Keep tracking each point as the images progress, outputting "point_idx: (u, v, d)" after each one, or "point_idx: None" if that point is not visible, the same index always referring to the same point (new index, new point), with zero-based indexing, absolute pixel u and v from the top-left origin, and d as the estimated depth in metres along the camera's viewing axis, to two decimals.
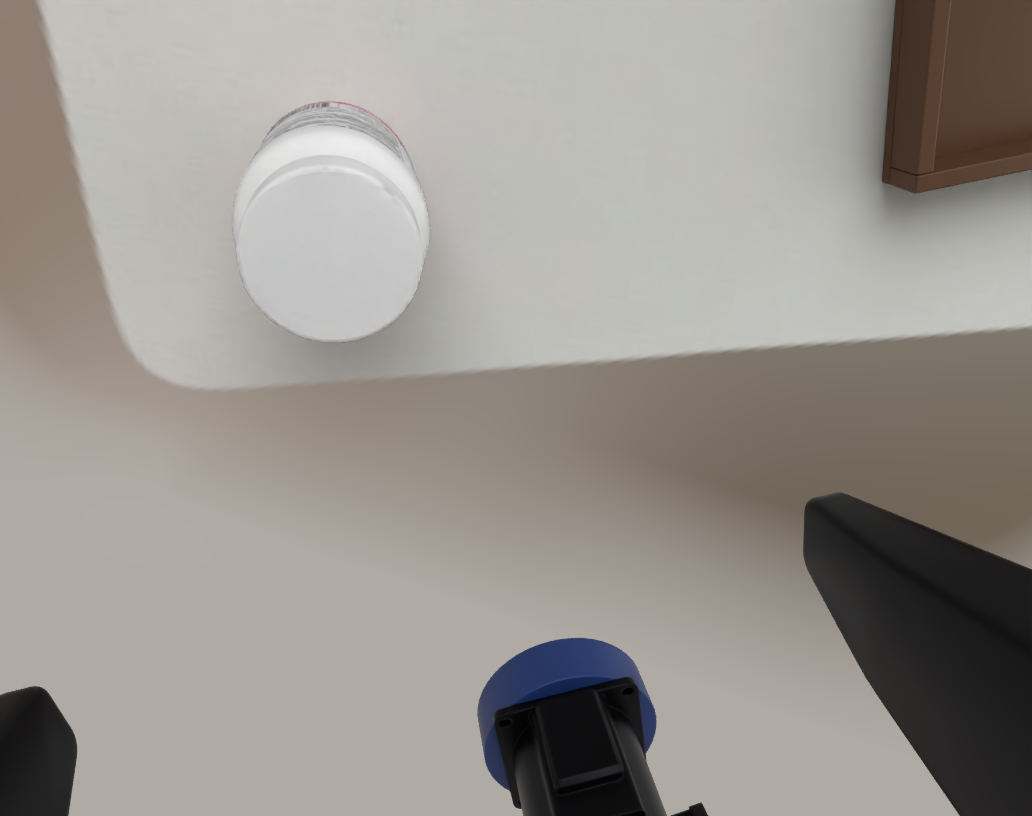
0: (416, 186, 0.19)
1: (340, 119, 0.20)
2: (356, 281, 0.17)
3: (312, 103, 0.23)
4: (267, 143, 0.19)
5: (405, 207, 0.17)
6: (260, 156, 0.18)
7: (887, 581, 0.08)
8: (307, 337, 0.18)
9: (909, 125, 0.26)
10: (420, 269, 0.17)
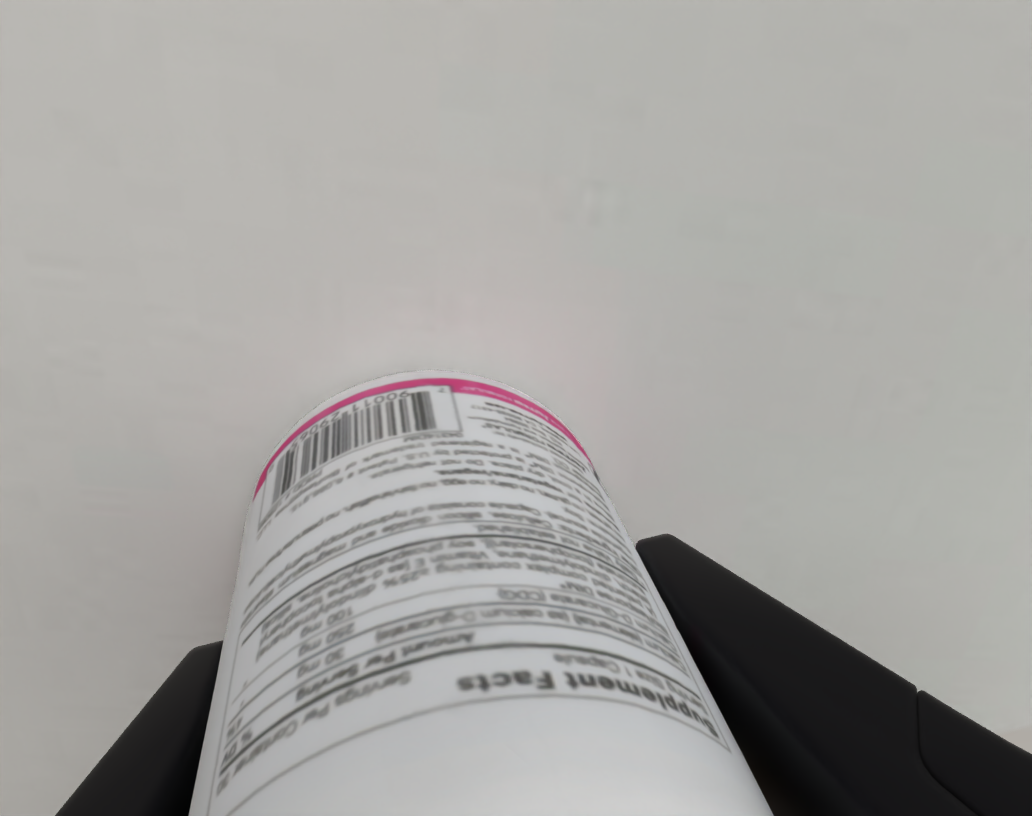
0: None
1: (509, 578, 0.06)
2: None
3: (383, 385, 0.09)
4: (278, 730, 0.05)
5: None
6: None
7: (686, 632, 0.08)
8: None
9: None
10: None
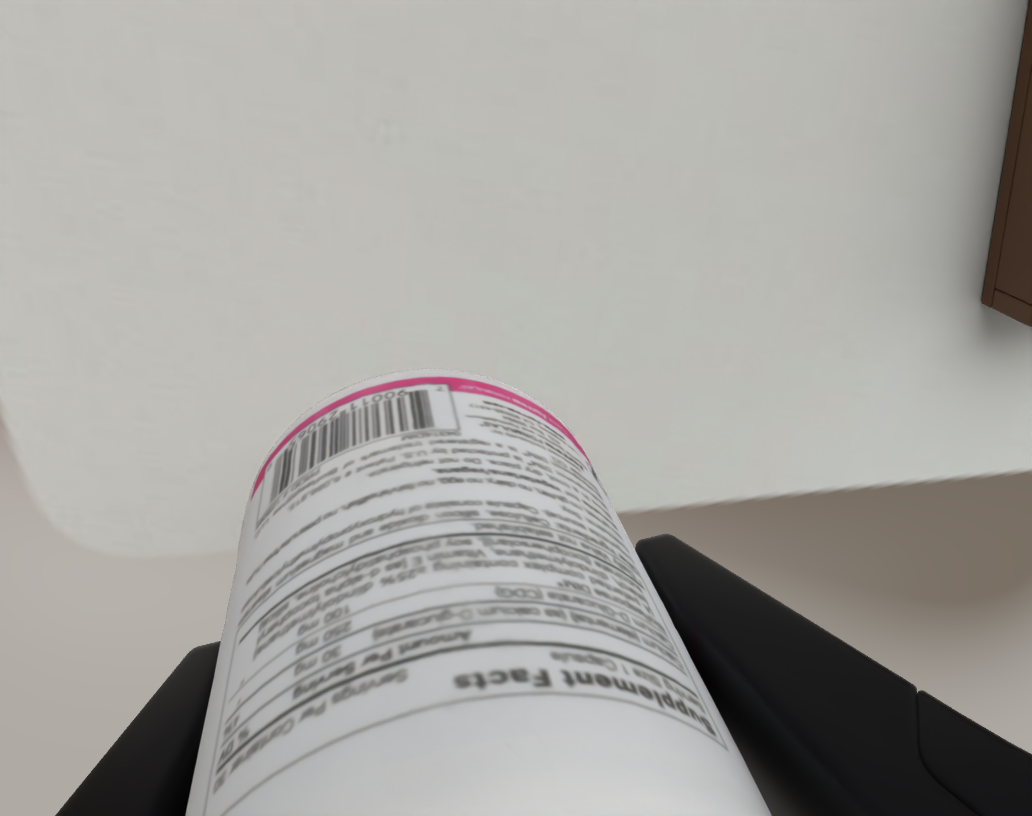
0: None
1: (506, 576, 0.06)
2: None
3: (381, 383, 0.09)
4: (274, 728, 0.05)
5: None
6: None
7: (686, 632, 0.08)
8: None
9: (1026, 244, 0.20)
10: None
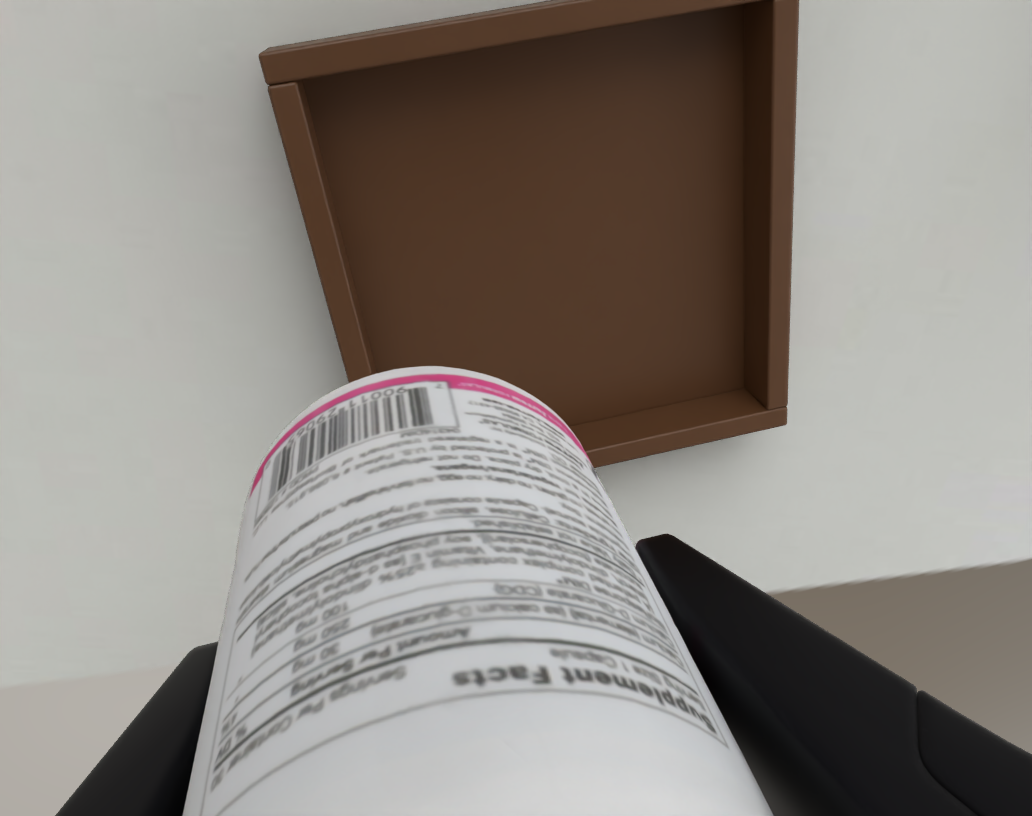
0: None
1: (505, 573, 0.06)
2: None
3: (380, 381, 0.09)
4: (272, 726, 0.05)
5: None
6: None
7: (686, 632, 0.08)
8: None
9: None
10: None
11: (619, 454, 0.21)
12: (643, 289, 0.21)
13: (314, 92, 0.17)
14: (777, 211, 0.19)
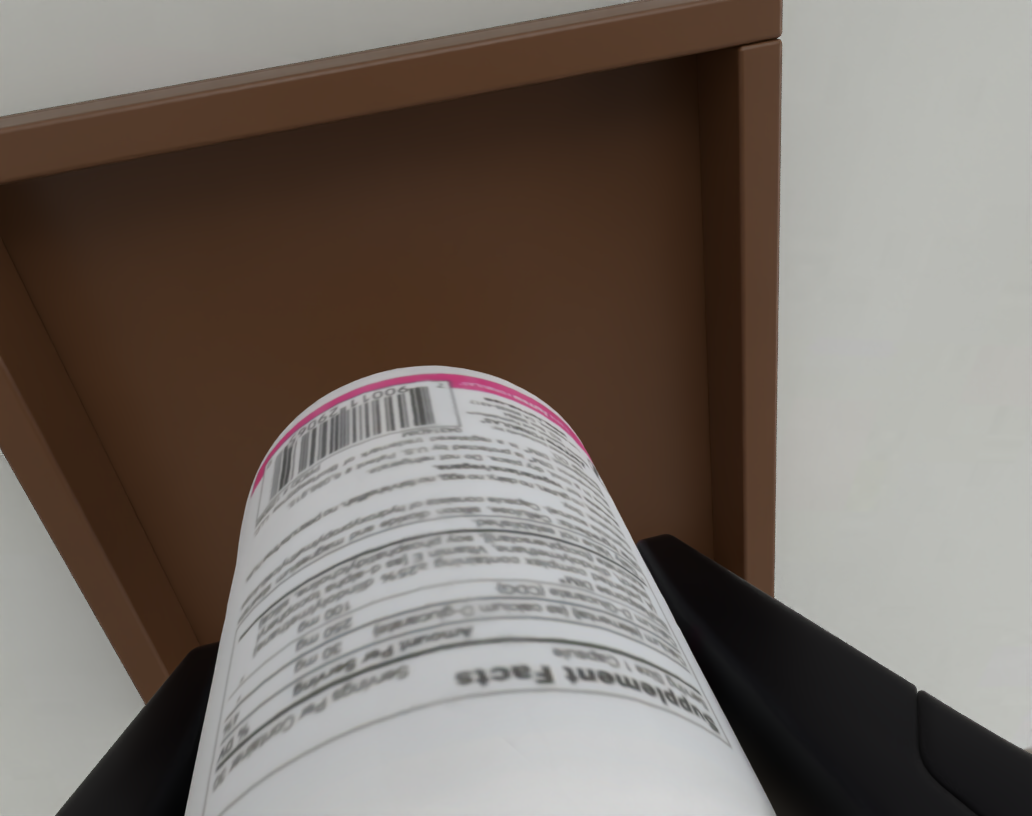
0: None
1: (507, 572, 0.06)
2: None
3: (382, 380, 0.09)
4: (274, 725, 0.05)
5: None
6: None
7: (686, 632, 0.08)
8: None
9: None
10: None
11: None
12: None
13: None
14: (753, 363, 0.12)
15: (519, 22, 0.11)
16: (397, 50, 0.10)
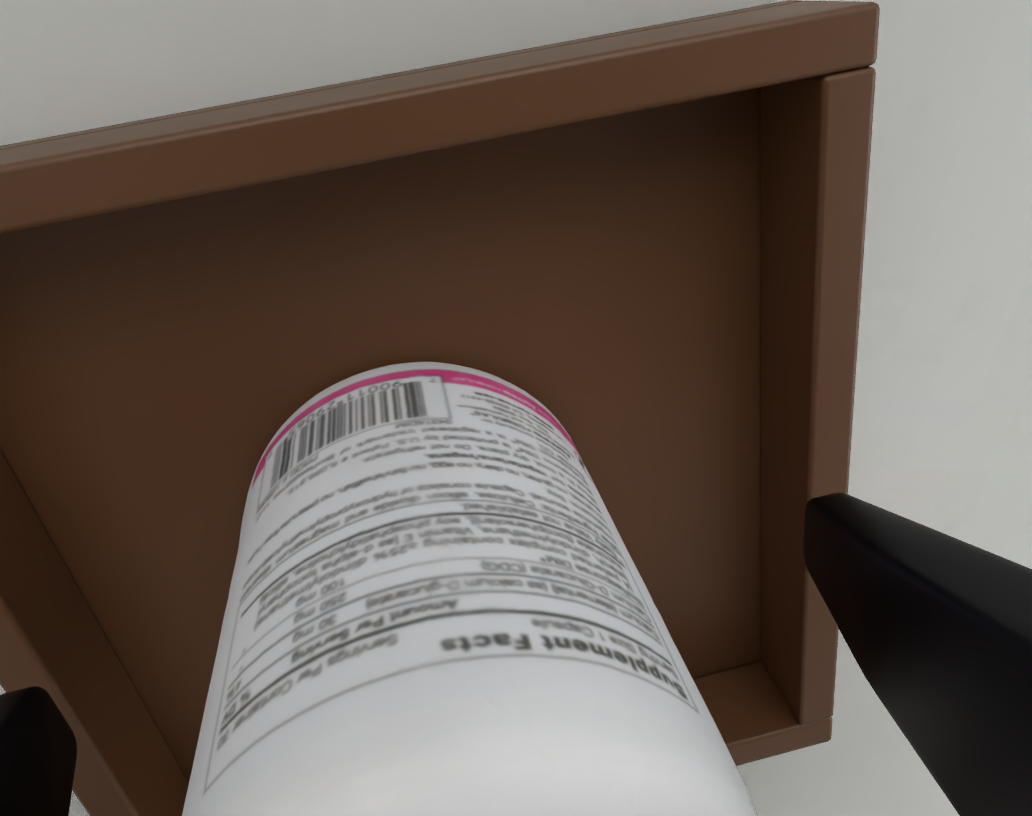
0: None
1: (491, 551, 0.07)
2: None
3: (377, 375, 0.10)
4: (274, 689, 0.06)
5: None
6: None
7: (887, 581, 0.08)
8: None
9: None
10: None
11: None
12: None
13: None
14: (823, 445, 0.10)
15: None
16: (402, 81, 0.08)
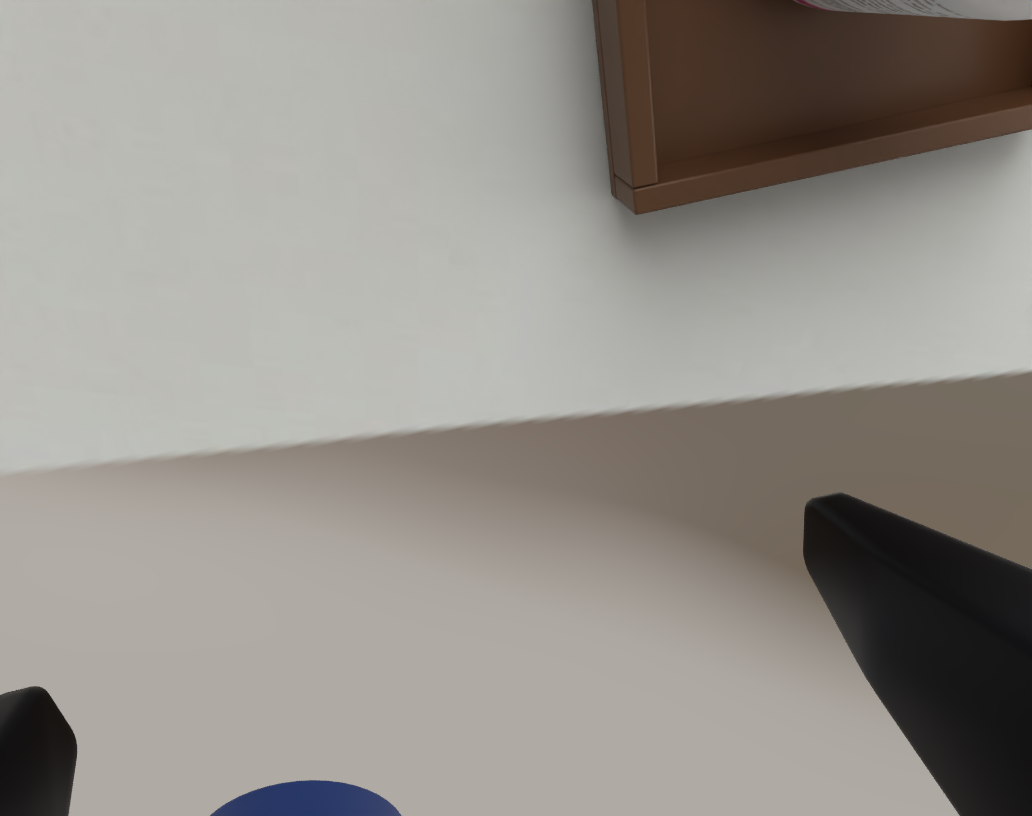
0: None
1: None
2: None
3: None
4: None
5: None
6: None
7: (887, 581, 0.08)
8: None
9: (618, 113, 0.17)
10: None
11: (905, 145, 0.18)
12: None
13: None
14: None
15: None
16: None
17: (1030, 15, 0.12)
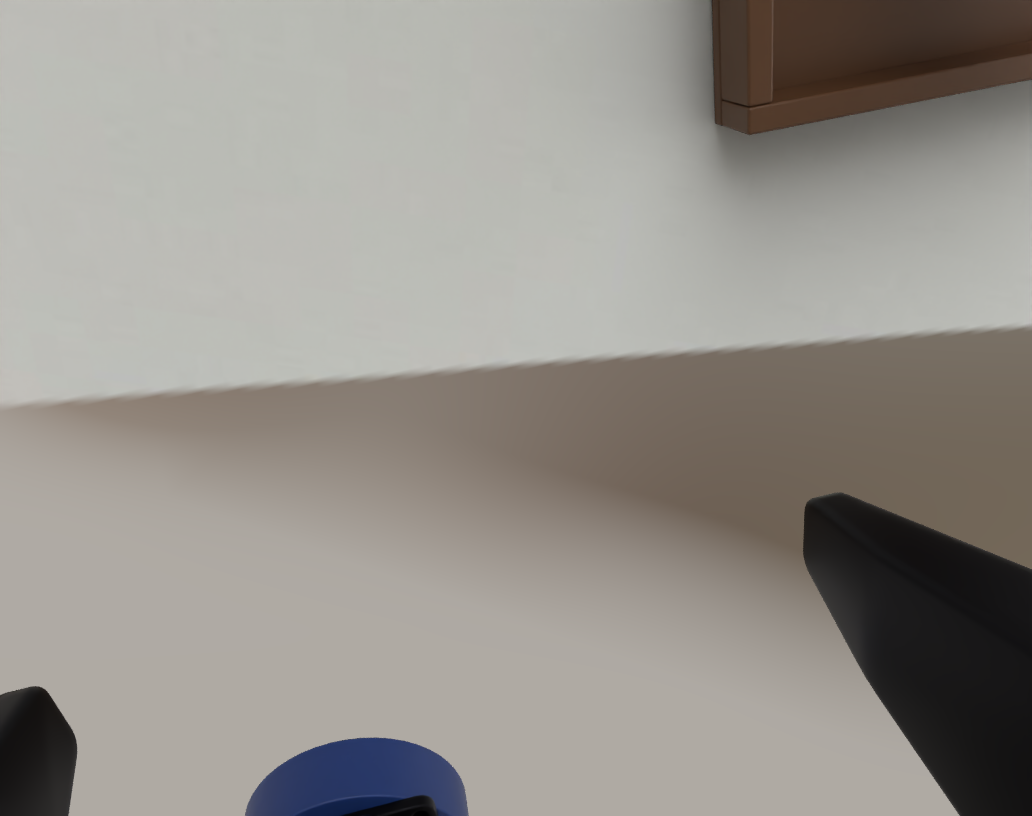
0: None
1: None
2: None
3: None
4: None
5: None
6: None
7: (887, 581, 0.08)
8: None
9: (735, 31, 0.17)
10: None
11: (1013, 70, 0.18)
12: None
13: None
14: None
15: None
16: None
17: None
